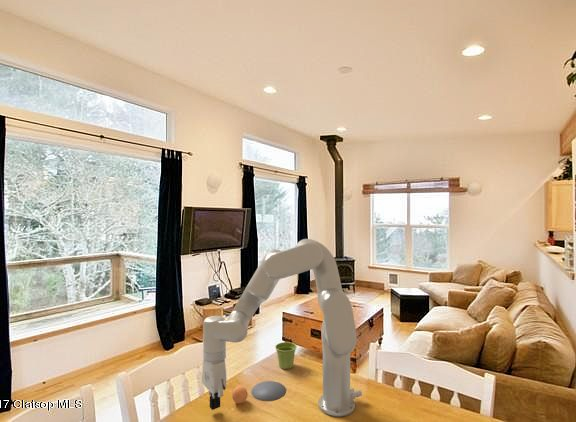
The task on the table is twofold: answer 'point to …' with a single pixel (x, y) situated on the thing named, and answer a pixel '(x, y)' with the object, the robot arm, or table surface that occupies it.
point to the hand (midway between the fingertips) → (215, 407)
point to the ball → (239, 394)
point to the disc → (268, 391)
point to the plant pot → (285, 354)
